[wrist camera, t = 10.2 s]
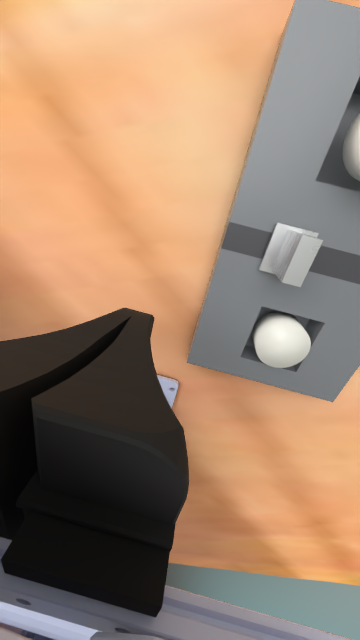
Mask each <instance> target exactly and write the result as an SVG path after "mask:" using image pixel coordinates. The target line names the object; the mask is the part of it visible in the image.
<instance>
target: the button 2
mask: <svg viewBox="0 0 360 640" xmlns="http://www.w3.org/2000/svg"><path fill="white" fill-rule="evenodd" d="M342 155H343V162H344V165H345V168H346V170H347V171H348V173H349V174H350V175H351V176H352V177H353V178H354V179H356V180H358V181H360V113H359V114H358V115H357V116H356V117H355V119H354V120H353V122H352V123H351V125H350V127H349V129H348V131H347V134H346V136H345V139H344V143H343V152H342Z"/></svg>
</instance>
